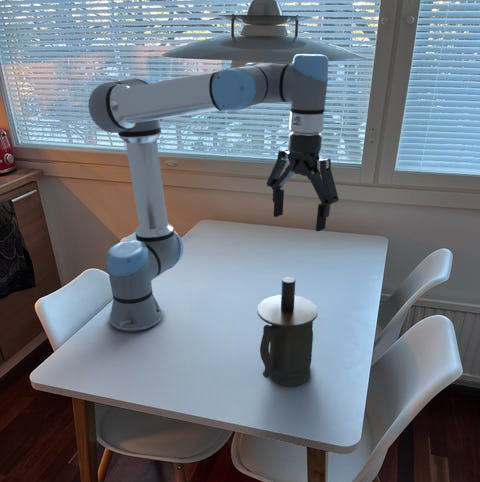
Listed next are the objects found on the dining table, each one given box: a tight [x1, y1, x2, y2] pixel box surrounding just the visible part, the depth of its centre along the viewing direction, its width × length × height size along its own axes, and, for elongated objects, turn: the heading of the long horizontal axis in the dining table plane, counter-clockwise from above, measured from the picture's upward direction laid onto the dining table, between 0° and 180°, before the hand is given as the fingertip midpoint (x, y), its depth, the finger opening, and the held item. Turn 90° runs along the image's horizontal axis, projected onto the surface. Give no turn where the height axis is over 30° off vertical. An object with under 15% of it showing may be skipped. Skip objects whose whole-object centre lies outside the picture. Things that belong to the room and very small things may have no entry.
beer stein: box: [259, 321, 314, 387], centre depth 115 cm, size 15×11×20 cm
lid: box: [256, 276, 319, 327], centre depth 107 cm, size 14×14×8 cm
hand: (298, 222), depth 118 cm, fingers open, 13 cm apart
